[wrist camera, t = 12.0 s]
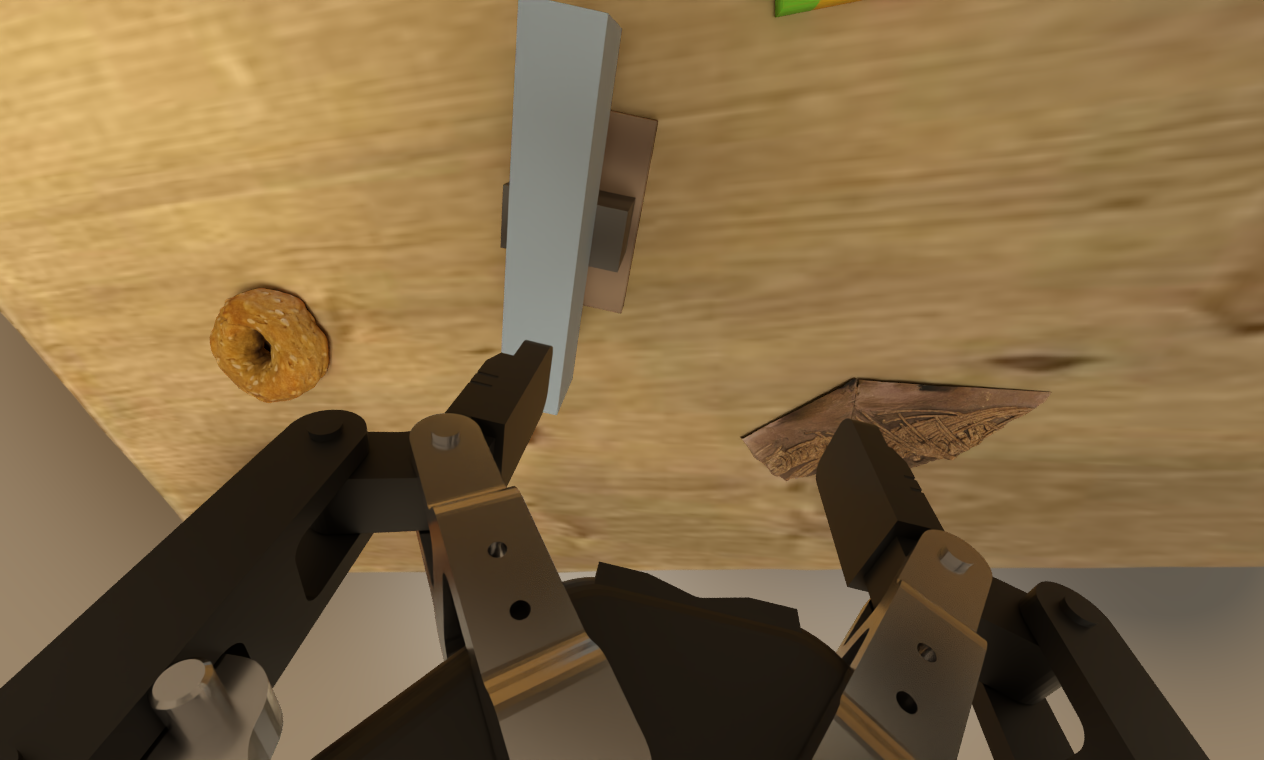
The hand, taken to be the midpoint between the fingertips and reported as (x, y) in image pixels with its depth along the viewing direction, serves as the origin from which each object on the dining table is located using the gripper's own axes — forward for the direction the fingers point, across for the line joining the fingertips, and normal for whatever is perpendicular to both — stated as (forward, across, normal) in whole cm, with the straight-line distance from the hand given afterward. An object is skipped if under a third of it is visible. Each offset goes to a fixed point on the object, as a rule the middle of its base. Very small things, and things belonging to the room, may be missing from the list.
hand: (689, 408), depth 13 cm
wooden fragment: (+27, -22, +14) cm, 38 cm away
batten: (+20, +8, +2) cm, 21 cm away
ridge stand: (+26, +8, +2) cm, 28 cm away
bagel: (+26, +35, +20) cm, 48 cm away
